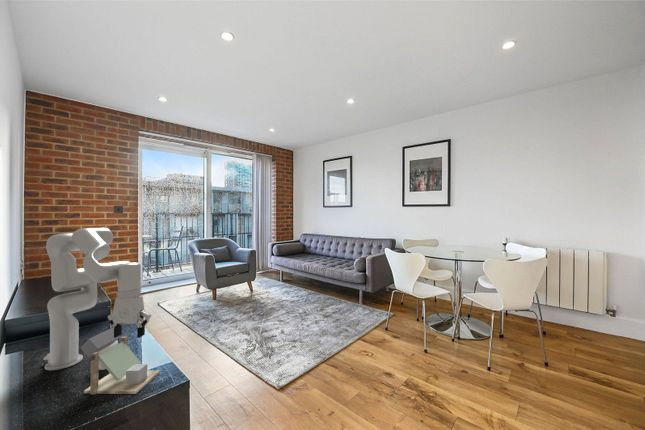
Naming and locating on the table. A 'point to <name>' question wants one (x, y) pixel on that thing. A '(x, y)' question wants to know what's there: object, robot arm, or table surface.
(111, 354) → the trapdoor
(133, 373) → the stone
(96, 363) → the frame
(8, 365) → the table surface
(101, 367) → the white cup
